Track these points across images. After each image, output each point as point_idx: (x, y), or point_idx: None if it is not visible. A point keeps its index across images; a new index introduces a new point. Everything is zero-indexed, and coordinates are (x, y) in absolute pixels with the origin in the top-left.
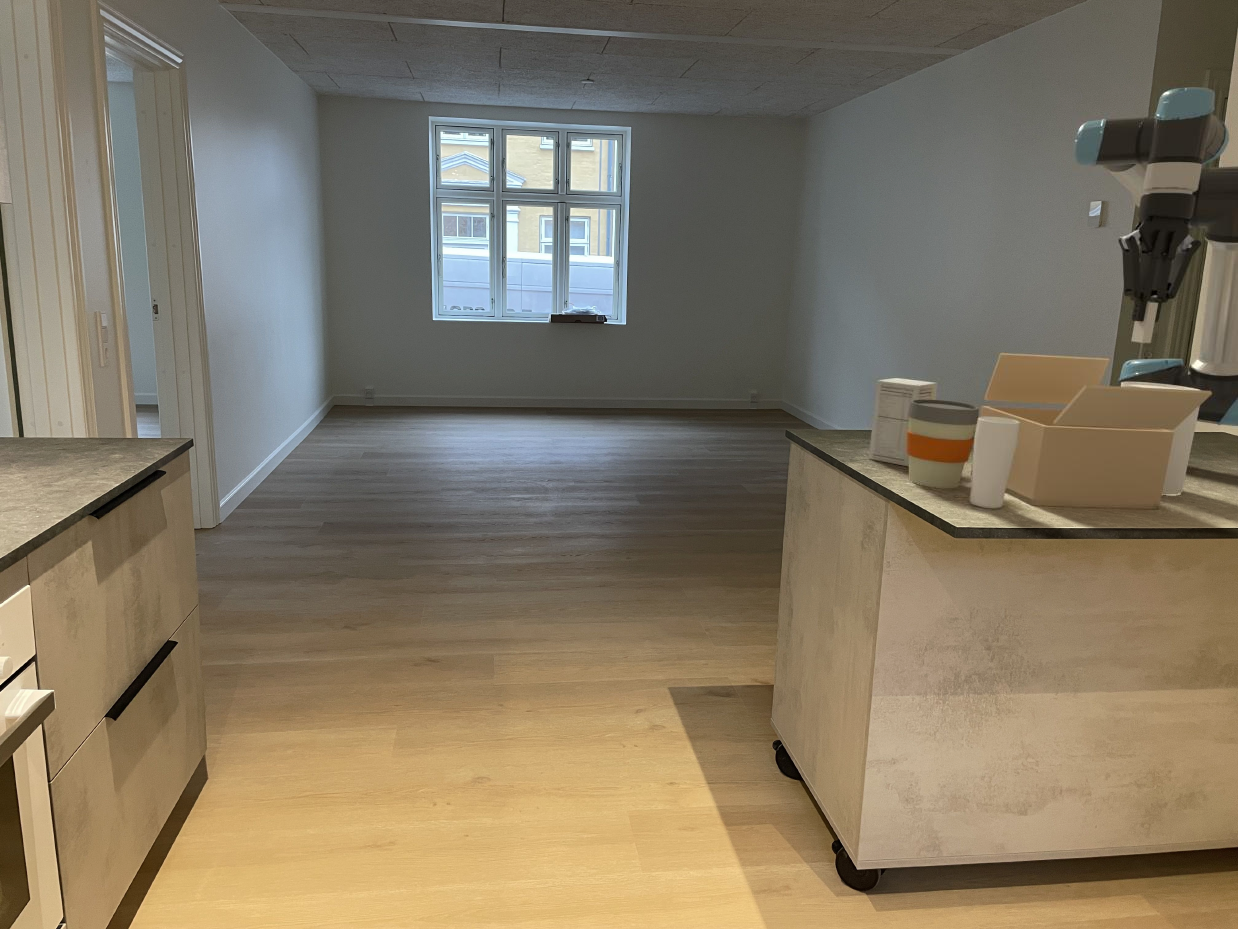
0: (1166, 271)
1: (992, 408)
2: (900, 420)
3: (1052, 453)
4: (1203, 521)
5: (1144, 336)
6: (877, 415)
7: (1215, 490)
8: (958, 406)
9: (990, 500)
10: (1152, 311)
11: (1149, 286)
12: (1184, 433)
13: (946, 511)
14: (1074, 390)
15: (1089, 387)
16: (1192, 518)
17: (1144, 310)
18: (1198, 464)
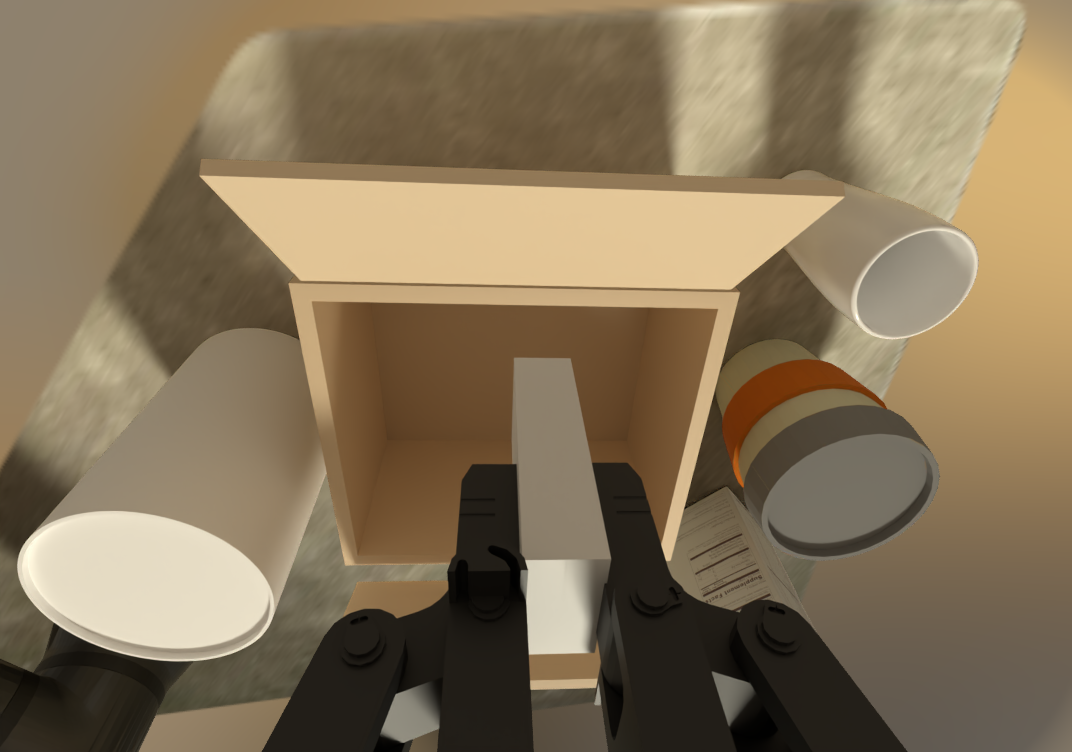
0: None
1: (666, 534)
2: (775, 574)
3: None
4: (286, 95)
5: (565, 380)
6: (799, 602)
7: (79, 390)
8: (775, 522)
9: (823, 174)
10: (558, 496)
11: (672, 718)
12: (158, 421)
13: (937, 143)
14: (415, 607)
15: (828, 182)
16: (301, 124)
17: (606, 523)
18: (6, 586)
